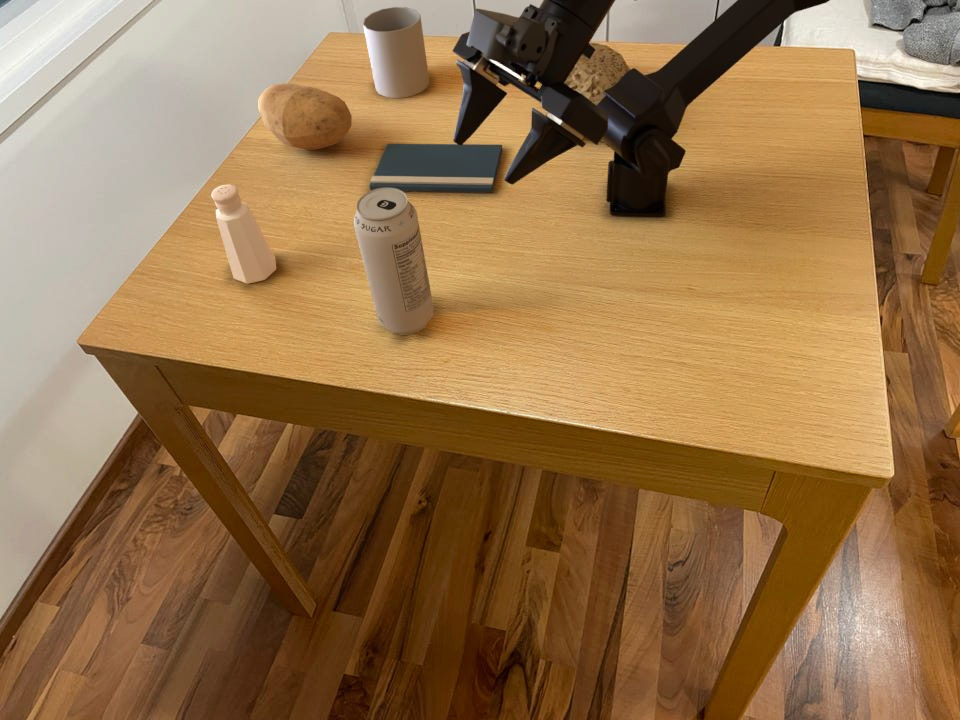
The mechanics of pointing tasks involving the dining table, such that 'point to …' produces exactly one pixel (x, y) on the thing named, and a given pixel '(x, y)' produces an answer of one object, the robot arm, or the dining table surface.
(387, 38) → the cup
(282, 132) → the potato
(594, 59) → the sponge
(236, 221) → the pepper shaker
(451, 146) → the book
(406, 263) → the energy drink can
